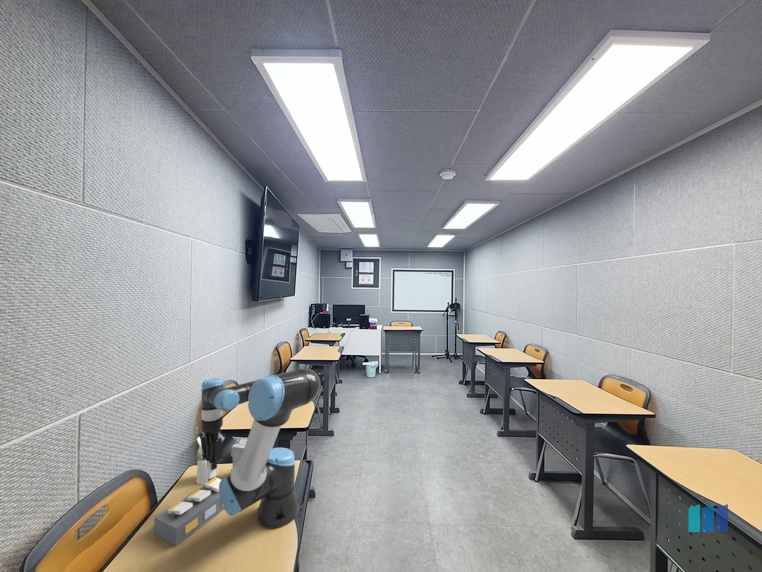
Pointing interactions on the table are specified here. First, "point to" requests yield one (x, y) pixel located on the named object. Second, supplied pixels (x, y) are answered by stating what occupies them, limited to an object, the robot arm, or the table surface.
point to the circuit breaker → (238, 451)
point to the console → (187, 518)
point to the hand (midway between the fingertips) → (212, 476)
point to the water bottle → (201, 465)
